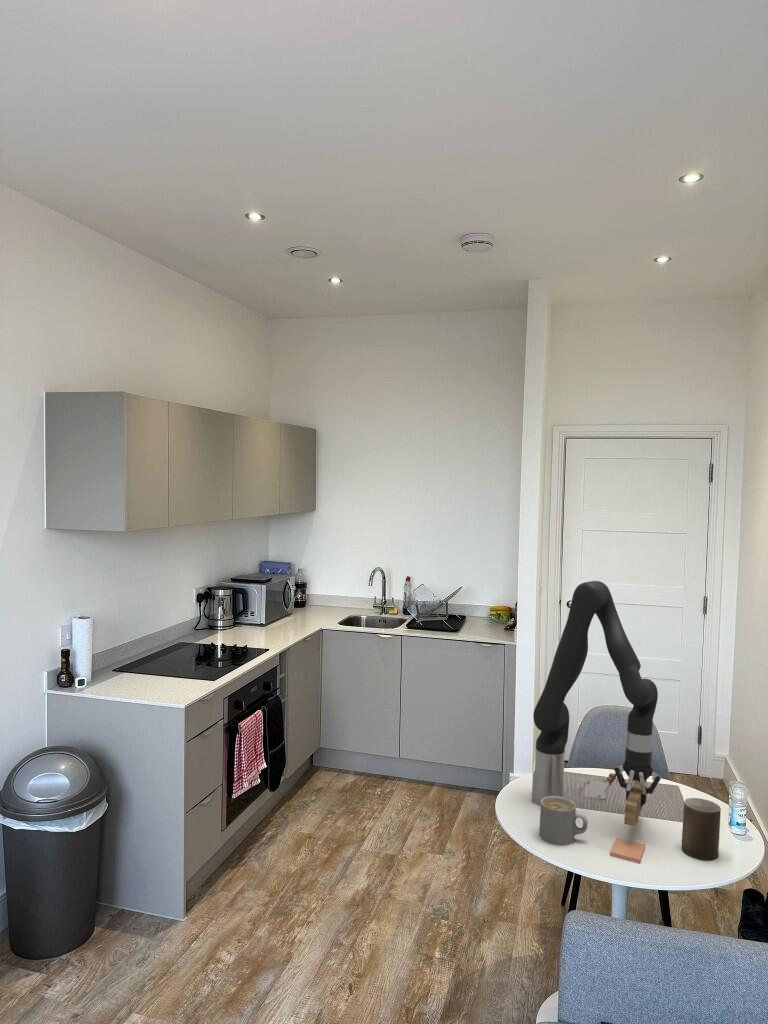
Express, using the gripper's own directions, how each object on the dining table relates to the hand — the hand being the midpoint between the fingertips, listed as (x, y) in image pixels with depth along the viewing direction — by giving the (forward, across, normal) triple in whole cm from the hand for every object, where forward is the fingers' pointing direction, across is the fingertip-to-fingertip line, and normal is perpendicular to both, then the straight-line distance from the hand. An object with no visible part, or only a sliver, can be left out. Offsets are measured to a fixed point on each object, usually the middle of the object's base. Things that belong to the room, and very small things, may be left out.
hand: (635, 803), depth 214 cm
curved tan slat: (+2, 0, 0) cm, 2 cm away
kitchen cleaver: (+10, -16, +29) cm, 35 cm away
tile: (+9, 0, -8) cm, 12 cm away
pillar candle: (+9, +18, -2) cm, 20 cm away
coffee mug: (+9, -18, -15) cm, 25 cm away
